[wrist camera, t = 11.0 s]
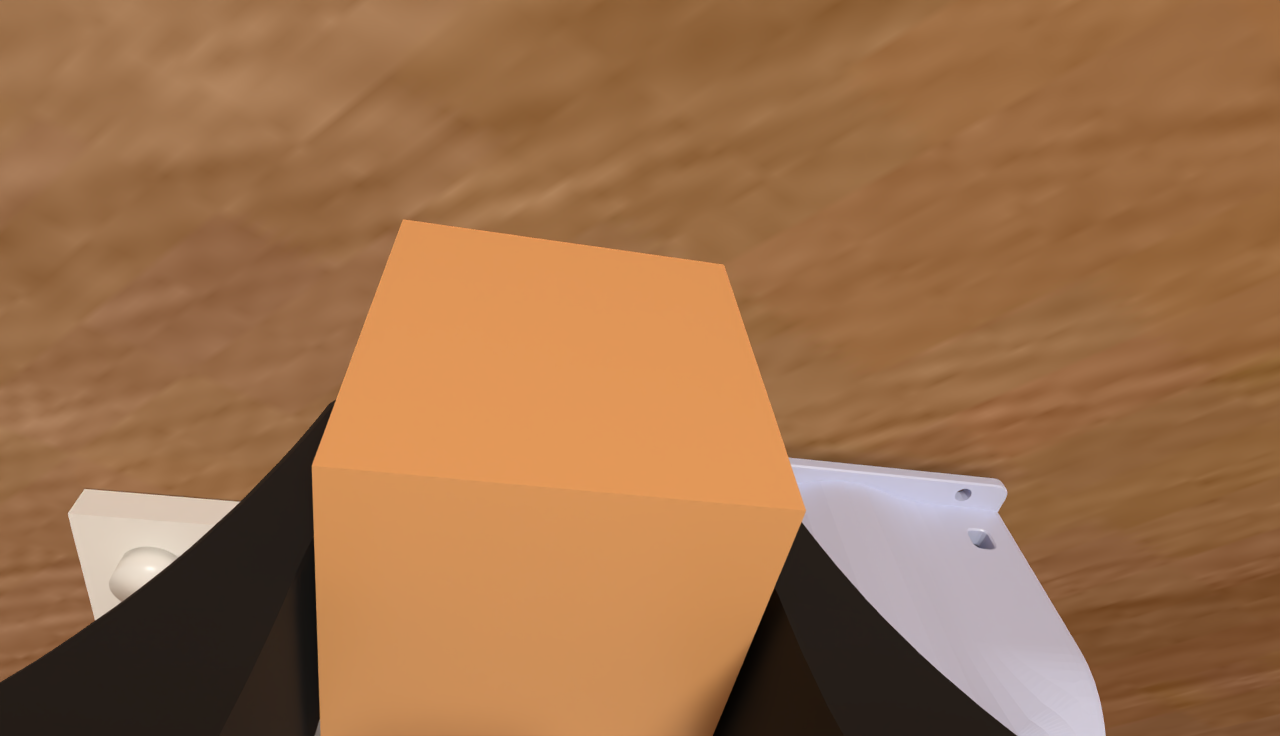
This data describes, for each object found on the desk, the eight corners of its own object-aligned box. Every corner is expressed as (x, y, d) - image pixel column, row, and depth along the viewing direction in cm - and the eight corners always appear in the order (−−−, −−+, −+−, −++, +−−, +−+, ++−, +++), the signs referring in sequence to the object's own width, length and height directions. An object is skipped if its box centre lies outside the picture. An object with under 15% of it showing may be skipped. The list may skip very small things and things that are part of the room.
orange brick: (724, 264, 12) (806, 510, 8) (643, 553, 15) (672, 832, 11) (402, 219, 11) (311, 466, 7) (390, 533, 15) (323, 825, 10)
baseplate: (627, 533, 27) (632, 587, 25) (559, 798, 36) (559, 852, 34) (84, 489, 24) (45, 545, 22) (155, 787, 33) (131, 844, 31)
